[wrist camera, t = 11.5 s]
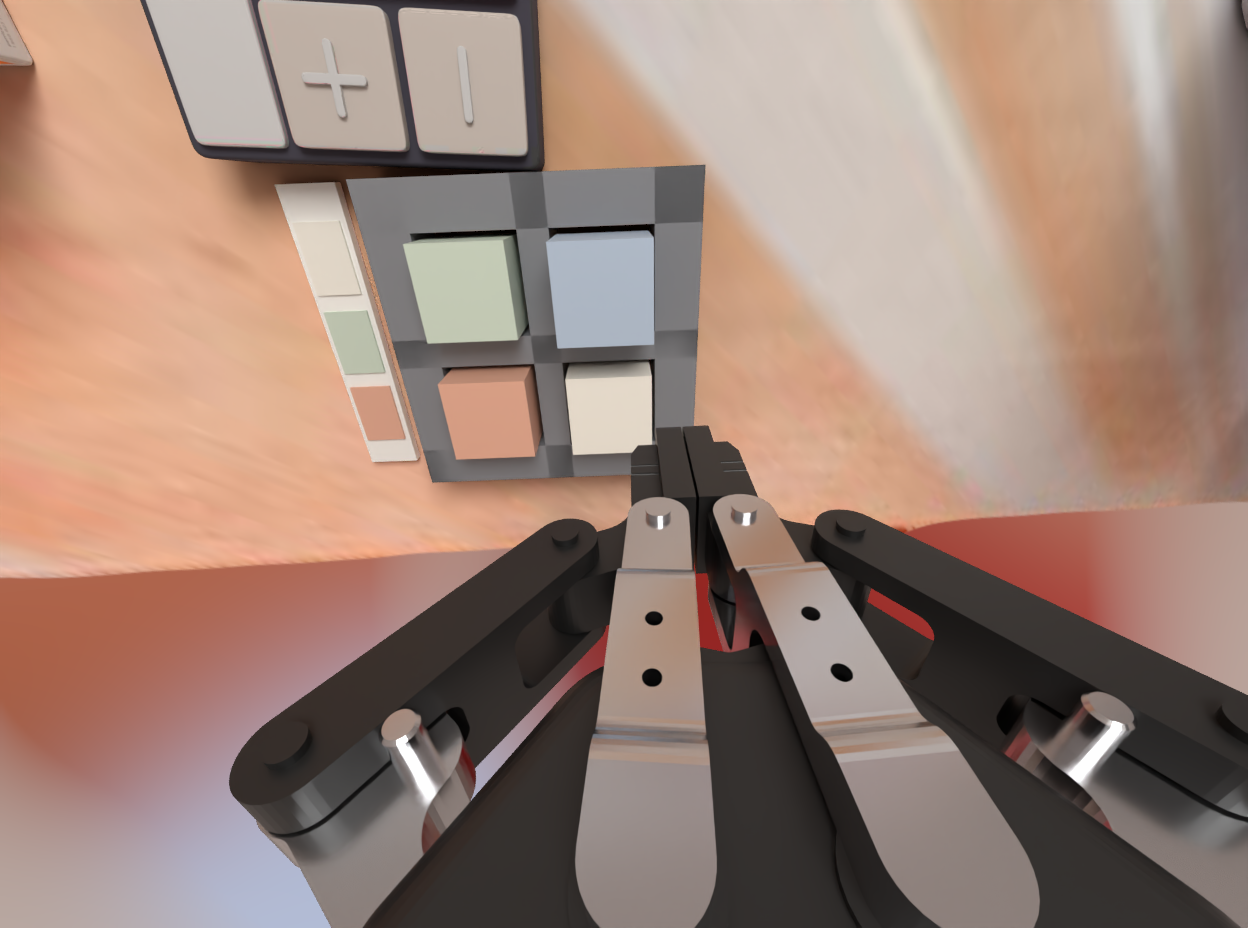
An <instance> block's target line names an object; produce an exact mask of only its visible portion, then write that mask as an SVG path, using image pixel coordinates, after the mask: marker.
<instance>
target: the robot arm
mask: <svg viewBox="0 0 1248 928" xmlns="http://www.w3.org/2000/svg"><path fill="white" fill-rule="evenodd" d="M1242 10H1243V14H1244V19H1245V24H1246V28H1247V29H1248V0H1242ZM631 502H632V507H631V508H630V510H629V513H628V517H627V518H626V519H625V520H624V521H623V522H622V523H620V524H618V525H617V526H614V527H612V528H609V529H606V530H602V531H598V532H597V531H596V529H595V528H594V527H593V526H592V525H591V524H590V523H588V522H586V521H583V520H579V519H562V520H557V521H554V522H552V523H550V524H547V525H546V526H544V527H543V528H541V529H540V530H538V531H537V532H536V533H534V534H533V535H531V536H530V537H529V538H527V539H526V540H524V541H523V542H522V543H520V544H519V545H517V546H516V547H514V548H513V549H512V550H510V551H509V552H508V553H506V554H505V555H503V556H502V557H500V558H499V559H497V560H496V561H495V562H493V563H492V564H490V565H489V566H488V567H486V568H485V569H484V570H482V571H481V572H479V573H478V574H477V575H475V576H474V577H472V578H471V579H469V580H468V581H466V582H465V583H464V584H462V585H461V586H459V587H458V588H456V589H455V590H454V591H452V592H451V593H449V594H448V595H447V596H445V597H444V598H442V599H441V600H440V601H438V602H437V603H435V604H434V605H432V606H431V607H430V608H428V609H427V610H426V611H424V612H423V613H421V614H420V615H418V616H417V617H416V618H414V619H413V620H411V621H410V622H408V623H407V624H406V625H404V626H403V627H401V628H400V629H399V630H397V631H396V632H394V633H393V634H391V635H390V636H389V637H387V638H386V639H384V640H383V641H382V642H380V643H379V644H377V645H376V646H375V647H373V648H372V649H370V650H369V651H368V652H366V653H365V654H363V655H362V656H360V657H359V658H358V659H356V660H355V661H353V662H352V663H351V664H349V665H348V666H346V667H345V668H343V669H342V670H341V671H339V672H338V673H336V674H335V675H334V676H332V677H331V678H329V679H328V680H326V681H325V682H324V683H322V684H321V685H319V686H318V687H317V688H315V689H314V690H312V691H311V692H310V693H308V694H307V695H305V696H304V697H302V698H301V699H300V700H298V701H297V702H296V703H294V704H293V705H291V706H290V707H288V708H287V709H285V710H284V711H283V712H281V713H280V714H279V715H277V716H276V717H274V718H273V719H271V720H270V721H269V722H267V723H266V724H265V725H264V726H262V727H261V728H260V729H259V730H258V731H257V732H256V733H255V734H254V735H253V736H252V737H251V738H250V739H249V740H248V742H247V743H246V744H245V745H244V747H243V748H242V749H241V751H240V753H239V754H238V756H237V757H236V759H235V762H234V764H233V766H232V769H231V773H230V778H229V779H230V780H229V786H230V791H231V793H232V795H233V796H234V797H235V798H236V799H237V801H238V802H239V803H240V804H241V805H242V806H243V807H244V808H245V809H246V810H247V811H248V812H249V813H250V814H251V815H252V816H253V817H254V818H255V819H256V822H257V825H258V827H259V829H260V830H261V831H262V832H263V833H264V834H265V835H266V836H267V837H268V838H269V839H270V840H271V841H272V842H273V843H274V844H275V845H276V846H277V847H278V848H279V849H280V850H281V851H282V852H283V853H284V854H285V855H286V856H287V858H289V860H290V861H291V862H292V863H293V864H294V865H295V866H297V867H299V868H300V869H301V871H302V873H303V875H304V877H305V878H306V880H307V882H308V884H309V886H310V888H311V890H312V892H313V893H314V895H315V897H316V899H317V901H318V903H319V905H320V907H321V909H322V911H323V912H324V914H325V916H326V918H327V920H328V922H329V924H330V926H331V928H1248V695H1246V694H1244V693H1242V692H1240V691H1238V690H1235V689H1233V688H1231V687H1229V686H1227V685H1225V684H1223V683H1220V682H1218V681H1216V680H1214V679H1212V678H1210V677H1208V676H1206V675H1204V674H1201V673H1199V672H1197V671H1195V670H1193V669H1191V668H1188V667H1186V666H1184V665H1182V664H1180V663H1178V662H1176V661H1174V660H1172V659H1170V658H1168V657H1165V656H1163V655H1161V654H1159V653H1157V652H1154V651H1153V650H1151V649H1148V648H1146V647H1144V646H1142V645H1140V644H1138V643H1136V642H1134V641H1131V640H1129V639H1127V638H1125V637H1123V636H1121V635H1119V634H1117V633H1114V632H1112V631H1110V630H1108V629H1106V628H1104V627H1102V626H1100V625H1097V624H1095V623H1093V622H1091V621H1089V620H1087V619H1084V618H1082V617H1080V616H1078V615H1076V614H1074V613H1072V612H1070V611H1067V610H1066V609H1064V608H1061V607H1059V606H1057V605H1055V604H1053V603H1051V602H1049V601H1047V600H1044V599H1042V598H1040V597H1038V596H1036V595H1034V594H1031V593H1029V592H1027V591H1025V590H1023V589H1021V588H1019V587H1017V586H1015V585H1012V584H1010V583H1008V582H1006V581H1004V580H1002V579H1000V578H998V577H996V576H993V575H991V574H989V573H987V572H985V571H983V570H980V569H979V568H976V567H974V566H972V565H970V564H968V563H966V562H963V561H961V560H959V559H957V558H955V557H953V556H951V555H949V554H947V553H945V552H942V551H940V550H938V549H936V548H934V547H932V546H930V545H928V544H926V543H923V542H921V541H919V540H917V539H915V538H913V537H911V536H908V535H906V534H904V533H902V532H900V531H898V530H896V529H894V528H892V527H889V526H887V525H885V524H883V523H881V522H879V521H877V520H875V519H872V518H870V517H868V516H866V515H864V514H861V513H858V512H854V511H849V510H830V511H827V512H824V513H822V514H820V515H819V516H818V517H817V519H816V521H815V525H814V526H813V525H808V524H802V523H796V522H791V521H787V520H784V519H781V518H779V517H778V515H777V513H776V511H775V510H774V508H773V507H772V506H771V505H770V504H769V503H768V502H767V501H765V500H763V499H761V498H759V497H758V496H757V493H756V491H755V489H754V486H753V484H752V481H751V479H750V477H749V474H748V472H747V471H746V467H745V465H744V463H743V460H742V457H741V455H740V453H739V450H738V449H736V448H735V447H734V446H732V445H731V444H730V443H729V442H714V441H713V438H712V435H711V432H710V429H709V426H684V427H682V430H681V427H662V428H655V445H638V446H637V447H636V449H635V450H634V451H633V452H632V454H631ZM694 564H695V569H696V573H707V575H708V580H709V587H708V600H709V604H710V607H711V610H712V614H713V617H714V621H715V624H716V627H717V631H718V634H719V637H720V641H721V644H722V647H723V651H724V652H722V651H717V650H712V649H706V648H701V647H700V640H699V627H698V611H697V597H696V582H695V572H694ZM871 588H872V589H874V590H875V591H877V592H879V593H881V594H883V595H884V596H886V597H888V598H889V599H891V600H893V601H895V602H896V603H898V604H900V605H902V606H903V607H905V608H907V609H908V610H910V611H912V612H914V613H915V614H917V615H919V616H920V617H922V618H923V619H924V620H926V622H928V624H929V625H930V626H931V628H932V630H933V632H934V641H933V640H930V639H928V638H926V637H925V636H923V635H921V634H920V633H918V632H916V631H915V630H913V629H911V628H910V627H908V626H906V625H905V624H903V623H901V622H900V621H898V620H896V619H895V618H893V617H891V616H890V615H888V614H887V613H885V612H883V611H882V610H880V609H878V608H877V607H874V606H873V605H872V604H870V603H868V602H867V601H868V597H869V594H870V591H871ZM607 625H610V626H609V634H608V641H607V649H606V656H605V664H604V666H603V667H600V668H599V669H597V670H595V671H593V672H591V673H589V674H588V675H586V676H585V677H584V678H582V679H581V680H579V681H578V682H577V683H576V684H575V685H574V686H572V687H571V688H570V689H569V690H568V691H567V692H566V693H565V694H564V695H563V696H562V697H561V699H560V700H559V701H558V702H557V703H556V704H555V705H554V707H553V708H552V709H551V710H550V711H549V712H548V713H547V715H546V716H545V717H544V718H543V719H542V720H541V721H540V723H539V724H538V725H537V726H536V727H535V728H534V729H533V731H532V732H531V733H530V734H529V735H528V736H527V737H526V739H525V740H524V741H523V742H522V743H521V744H520V745H519V747H518V748H517V749H516V750H515V751H514V753H512V755H511V756H510V757H509V758H508V759H507V760H506V761H505V763H504V764H503V765H502V766H501V767H500V768H499V769H498V771H497V772H496V773H495V774H494V775H493V776H492V777H491V779H490V780H489V781H488V782H487V783H486V784H485V785H484V787H483V788H482V789H481V790H480V791H479V792H478V793H477V795H476V796H475V797H474V798H473V799H472V801H471V798H472V796H473V793H474V789H475V784H476V771H475V768H476V767H477V765H479V763H480V762H481V761H482V760H483V759H484V758H485V757H486V756H487V755H488V754H489V753H490V752H491V751H492V750H493V749H494V748H495V747H496V746H497V745H498V744H499V743H500V742H501V741H502V740H503V739H504V738H505V737H506V736H507V735H508V734H509V732H510V731H511V730H512V729H513V728H514V727H515V726H516V725H517V724H518V723H519V722H520V721H521V720H522V719H523V718H524V717H525V716H526V715H527V714H528V713H529V712H530V711H531V710H532V709H533V707H535V706H536V704H538V702H539V701H540V700H541V699H542V698H543V697H544V696H545V695H546V694H547V693H548V692H549V691H550V690H551V689H552V688H553V687H554V686H555V685H556V684H557V683H558V682H559V681H560V680H561V679H562V678H563V677H564V676H565V674H567V673H568V671H569V670H570V669H571V668H572V667H573V666H574V665H575V664H576V663H577V662H578V661H579V660H580V659H581V658H582V657H583V656H584V655H585V654H586V653H587V652H588V651H589V650H590V649H591V647H593V646H594V645H595V643H597V641H598V640H599V639H600V638H601V637H602V636H603V634H604V632H605V629H606V626H607Z"/></svg>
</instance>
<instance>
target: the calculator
mask: <svg viewBox="0 0 1248 928" xmlns="http://www.w3.org/2000/svg"><path fill="white" fill-rule="evenodd" d="M140 1H141V3H142V6H143V9H144V12H145V15H146V17H147V20H148V23H149V26H150V29H151V31H152V34H153V37H154V40H155V42H156V45H157V48H158V51H159V54H160V56H161V59H162V62H163V65H164V68H165V70H166V73H167V76H168V79H169V82H170V84H171V87H172V90H173V93H174V95H175V98H176V101H177V104H178V107H179V109H180V112H181V115H182V118H183V121H184V123H185V126H186V129H187V132H188V135H189V137H190V140H191V143H192V145H193V147H194V149H195V150H196V151H197V152H198V153H199V154H200V155H201V156H203V157H206V158H212V159H222V160H234V161H245V162H259V163H288V164H317V165H353V166H380V167H408V168H436V169H463V170H491V171H519V172H538V171H540V170H541V169H542V168H543V167H544V160H545V159H544V136H543V115H542V94H541V73H540V51H539V30H538V9H537V0H140Z"/></svg>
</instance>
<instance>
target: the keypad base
mask: <svg viewBox="0 0 1248 928" xmlns="http://www.w3.org/2000/svg"><path fill="white" fill-rule="evenodd" d="M346 182H347V185H348V189H349V192H350V196H351V199H352V203H353V206H354V210H355V213H356V217H357V220H358V224H359V227H360V231H361V234H362V238H363V241H364V245H365V248H366V252H367V255H368V259H369V262H370V266H371V269H372V273H373V276H374V280H375V283H376V287H377V290H378V294H379V297H380V301H381V304H382V308H383V311H384V315H385V318H386V322H387V325H388V329H389V332H390V336H391V339H392V343H393V346H394V350H395V353H396V357H397V360H398V364H399V367H400V371H401V374H402V378H403V381H404V385H405V388H406V392H407V395H408V399H409V402H410V406H411V409H412V413H413V416H414V420H415V423H416V427H417V430H418V434H419V437H420V441H421V444H422V448H423V451H424V455H425V458H426V462H427V465H428V469H429V472H430V476H431V479H432V482H456V481H482V480H507V479H533V478H558V477H584V476H609V475H631V454H632V453H608V454H583V455H573V449H572V440H571V430H570V420H569V410H568V401H567V391H566V381H565V379H566V375H567V371H568V367H569V362H592V361H618V360H643V359H651V375H652V445H655V428H662V427H681V430H682V427H684V426H694V407H695V384H696V362H697V339H698V317H699V294H700V272H701V250H702V227H703V205H704V182H705V165H690V166H665V167H641V168H616V169H591V170H566V171H542V172H517V173H492V174H467V175H442V176H418V177H393V178H368V179H346ZM635 224H650V234H651V235H652V236H653V237H654V345H632V346H607V347H582V348H557V340H556V330H555V321H554V312H553V303H552V293H551V284H550V275H549V265H548V256H547V247H546V242H547V241H548V240H549V239H550V238H552V237H553V236H554V235H556V234H557V228H560V227H585V226H610V225H635ZM510 229H516V232H517V239H518V246H519V254H520V261H521V268H522V276H523V283H524V291H525V298H526V305H527V313H528V320H529V323H528V325H527V327H526V328H525V330H524V331H523V333H522V334H521V336H520V338H519V339H518V340H506V341H481V342H456V343H431V344H428V343H427V339H426V335H425V331H424V327H423V323H422V319H421V315H420V311H419V307H418V303H417V299H416V295H415V291H414V287H413V283H412V279H411V275H410V271H409V267H408V263H407V259H406V255H405V251H404V247H403V244H405V243H409V242H413V241H417V240H421V239H425V238H429V237H433V236H436V234H435V233H436V232H461V231H486V230H510ZM517 364H534V365H535V372H536V379H537V387H538V394H539V402H540V409H541V416H542V424H543V432H542V436H541V439H540V442H539V446H538V449H537V452H536V456H535V457H509V458H484V459H458V460H456V456H455V452H454V448H453V444H452V440H451V436H450V432H449V428H448V424H447V420H446V416H445V412H444V408H443V404H442V400H441V396H440V392H439V388H438V384H439V383H440V381H441V380H442V379H443V378H444V377H445V376H446V375H447V374H448V373H449V372H450V370H451V369H452V368H453V367H466V366H492V365H517Z"/></svg>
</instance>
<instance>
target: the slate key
mask: <svg viewBox="0 0 1248 928" xmlns="http://www.w3.org/2000/svg"><path fill="white" fill-rule="evenodd" d="M546 247H547V256H548V265H549V275H550V284H551V293H552V303H553V312H554V321H555V330H556V340H557V348H582V347H607V346H632V345H654V237H653V236H652V235H651V234H650V232H649V231H648V230H643V231H618V232H593V233H568V234H556V235H554V236H553V237H552V238H550V239H549V240H548V241H547V242H546Z"/></svg>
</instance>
